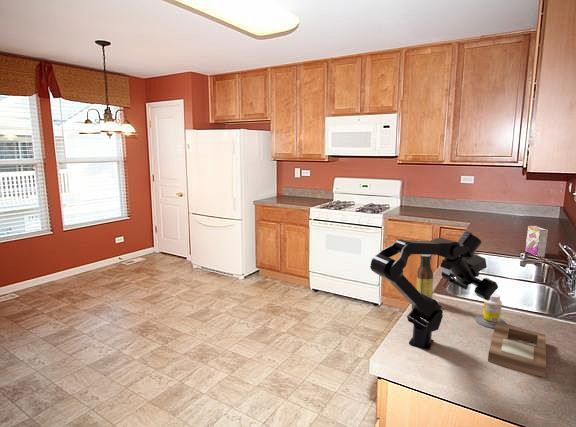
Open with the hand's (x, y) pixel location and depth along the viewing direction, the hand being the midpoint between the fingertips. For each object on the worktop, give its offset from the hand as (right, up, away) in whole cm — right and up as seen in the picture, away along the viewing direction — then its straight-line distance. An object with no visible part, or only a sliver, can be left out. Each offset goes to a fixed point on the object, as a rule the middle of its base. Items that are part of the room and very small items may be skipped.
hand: (477, 293), depth 126 cm
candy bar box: (+80, +3, +87) cm, 118 cm away
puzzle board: (+6, -15, -13) cm, 21 cm away
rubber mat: (+8, -12, +6) cm, 15 cm away
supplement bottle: (+8, -11, +5) cm, 15 cm away
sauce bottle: (-10, -8, +24) cm, 27 cm away
